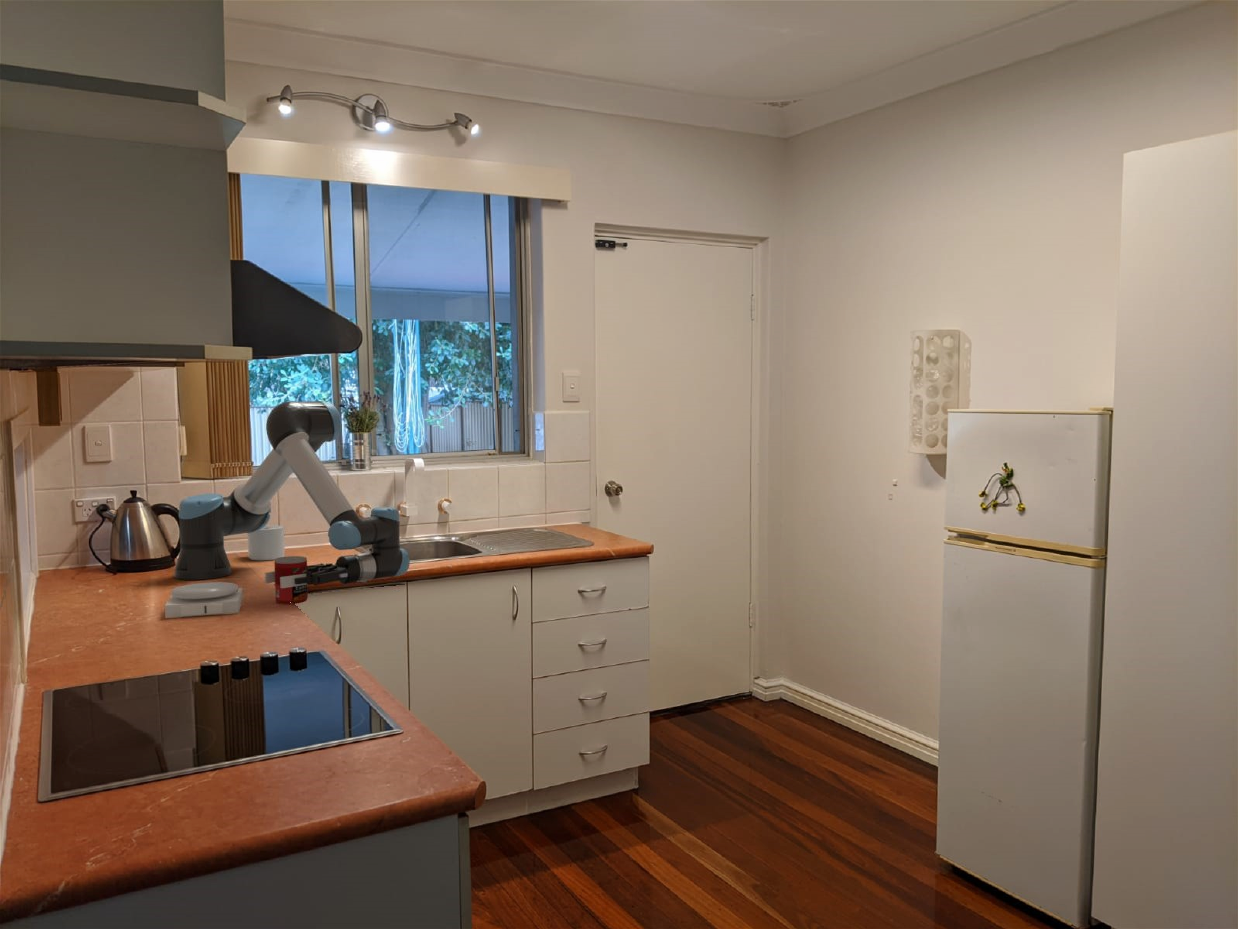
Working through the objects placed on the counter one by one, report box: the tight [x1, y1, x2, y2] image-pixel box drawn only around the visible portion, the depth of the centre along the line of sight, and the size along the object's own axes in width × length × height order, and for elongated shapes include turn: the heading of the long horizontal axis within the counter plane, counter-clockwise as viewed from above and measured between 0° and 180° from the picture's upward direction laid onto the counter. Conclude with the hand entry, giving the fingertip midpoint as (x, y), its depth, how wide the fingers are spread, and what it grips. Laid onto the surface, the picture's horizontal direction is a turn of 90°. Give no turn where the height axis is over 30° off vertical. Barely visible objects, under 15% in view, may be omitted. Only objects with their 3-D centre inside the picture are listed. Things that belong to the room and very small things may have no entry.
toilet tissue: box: [247, 524, 286, 561], centre depth 301 cm, size 11×12×10 cm
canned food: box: [273, 555, 309, 605], centre depth 236 cm, size 8×8×11 cm
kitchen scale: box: [164, 581, 244, 619], centre depth 228 cm, size 17×16×5 cm
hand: (273, 580), depth 233 cm, fingers closed on canned food, 8 cm apart
